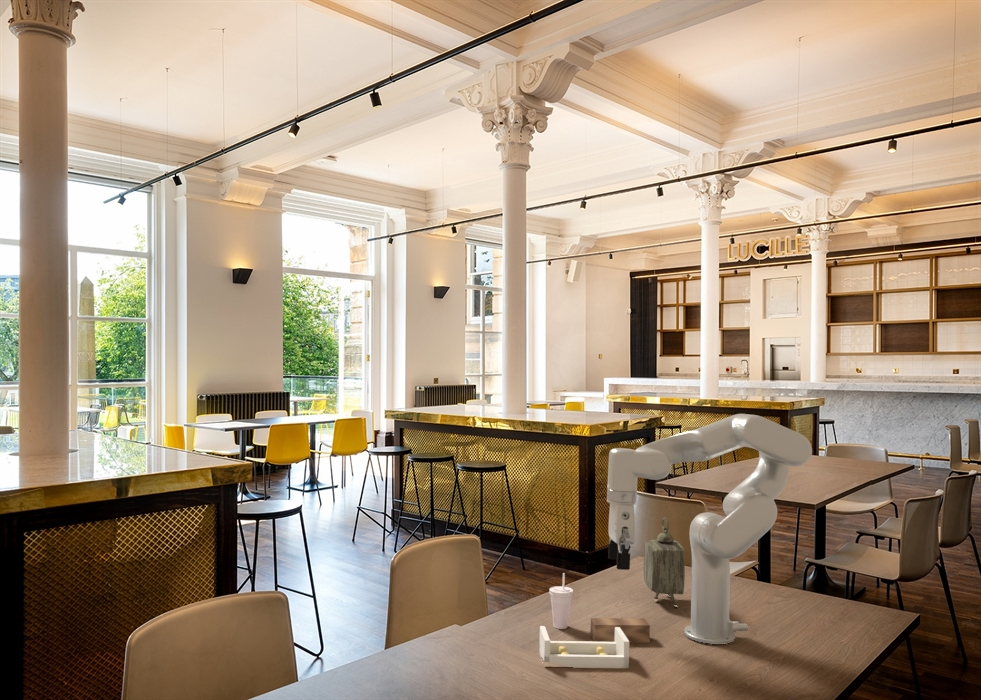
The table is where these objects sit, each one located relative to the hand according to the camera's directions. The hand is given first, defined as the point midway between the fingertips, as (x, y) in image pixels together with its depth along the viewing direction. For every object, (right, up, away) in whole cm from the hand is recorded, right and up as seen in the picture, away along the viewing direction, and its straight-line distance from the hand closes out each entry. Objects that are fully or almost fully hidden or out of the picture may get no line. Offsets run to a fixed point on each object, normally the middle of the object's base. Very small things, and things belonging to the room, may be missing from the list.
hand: (618, 564), depth 180 cm
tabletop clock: (+19, -21, +30) cm, 41 cm away
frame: (-11, -18, -16) cm, 26 cm away
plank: (0, -19, -1) cm, 19 cm away
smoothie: (-14, -19, +6) cm, 24 cm away
